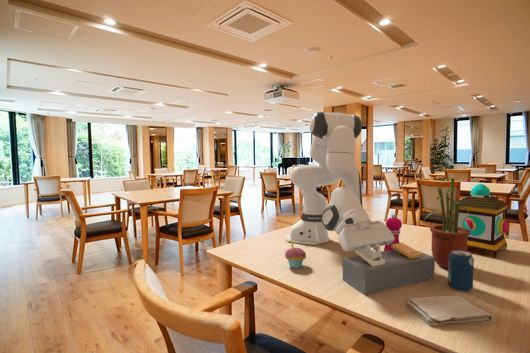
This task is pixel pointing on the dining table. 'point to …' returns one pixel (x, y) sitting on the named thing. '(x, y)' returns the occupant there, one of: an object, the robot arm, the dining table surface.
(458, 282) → the soda can
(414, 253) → the bar
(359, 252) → the cream rocker
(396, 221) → the pepper mill
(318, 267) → the dining table surface
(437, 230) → the potted plant
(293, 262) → the cupcake
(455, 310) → the washcloth
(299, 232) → the robot arm
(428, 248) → the dining table surface
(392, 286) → the grey rectangular block
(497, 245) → the decorative lantern
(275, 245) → the dining table surface
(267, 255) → the dining table surface
